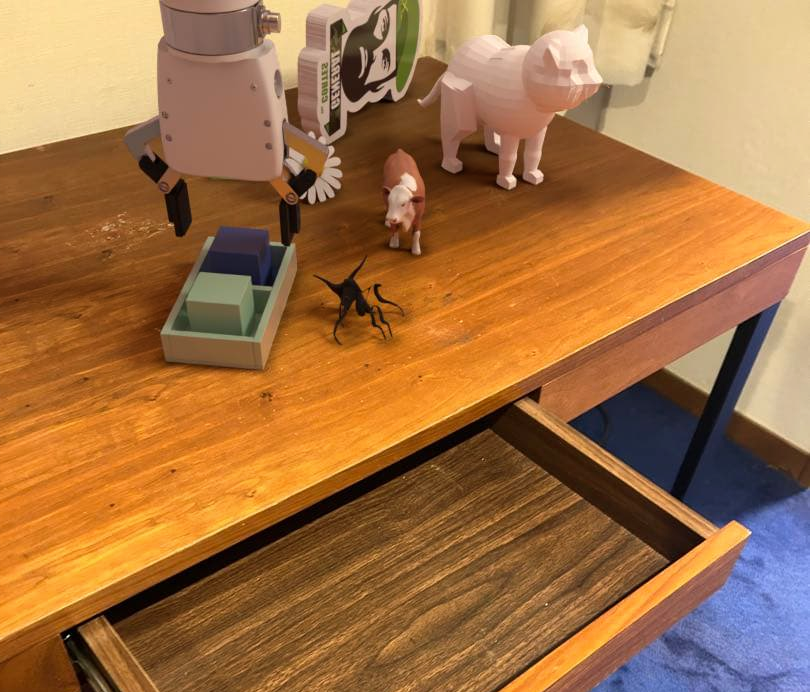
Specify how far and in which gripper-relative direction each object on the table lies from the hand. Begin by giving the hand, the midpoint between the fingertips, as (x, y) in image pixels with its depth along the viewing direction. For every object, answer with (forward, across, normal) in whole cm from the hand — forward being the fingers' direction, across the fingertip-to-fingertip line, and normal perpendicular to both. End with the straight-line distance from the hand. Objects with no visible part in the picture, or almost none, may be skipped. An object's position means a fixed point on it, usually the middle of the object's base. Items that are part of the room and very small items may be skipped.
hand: (236, 234), depth 78 cm
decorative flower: (+6, +1, -20) cm, 21 cm away
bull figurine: (+6, -14, -12) cm, 20 cm away
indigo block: (+5, 0, 0) cm, 5 cm away
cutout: (+6, -6, -43) cm, 44 cm away
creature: (+6, -12, +4) cm, 14 cm away
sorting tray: (+6, 0, +4) cm, 7 cm away
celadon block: (+5, 0, +8) cm, 9 cm away
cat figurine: (+6, -23, -30) cm, 39 cm away
